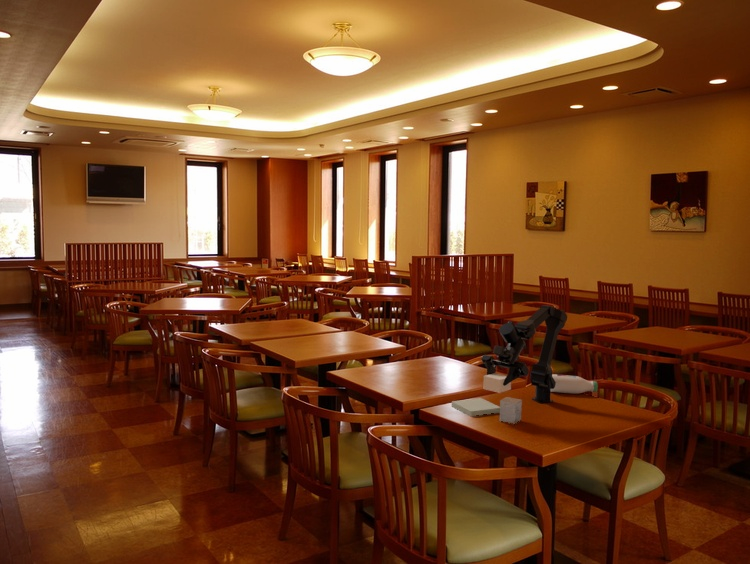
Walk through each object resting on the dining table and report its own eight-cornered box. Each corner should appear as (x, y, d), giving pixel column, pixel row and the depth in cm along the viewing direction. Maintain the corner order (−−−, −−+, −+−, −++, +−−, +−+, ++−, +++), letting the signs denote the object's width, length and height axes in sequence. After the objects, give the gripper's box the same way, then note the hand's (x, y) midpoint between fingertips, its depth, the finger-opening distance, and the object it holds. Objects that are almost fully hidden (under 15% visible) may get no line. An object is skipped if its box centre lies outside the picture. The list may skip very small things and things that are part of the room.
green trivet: (480, 402, 251) (480, 398, 251) (501, 412, 238) (501, 407, 238) (451, 406, 245) (451, 401, 245) (471, 416, 233) (471, 411, 232)
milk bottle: (549, 395, 270) (595, 399, 267) (551, 384, 265) (599, 388, 262) (548, 381, 275) (593, 385, 273) (550, 370, 270) (597, 374, 267)
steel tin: (505, 417, 233) (506, 396, 232) (520, 420, 229) (521, 399, 228) (499, 421, 228) (500, 400, 227) (514, 424, 224) (515, 403, 224)
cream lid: (494, 385, 237) (495, 372, 236) (510, 389, 231) (511, 376, 231) (483, 388, 232) (483, 375, 231) (499, 393, 226) (500, 379, 226)
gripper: (484, 334, 239) (466, 366, 233) (526, 341, 226) (508, 375, 219) (495, 351, 245) (478, 382, 239) (536, 359, 232) (519, 392, 225)
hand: (495, 383), depth 230 cm, fingers closed on cream lid, 7 cm apart
